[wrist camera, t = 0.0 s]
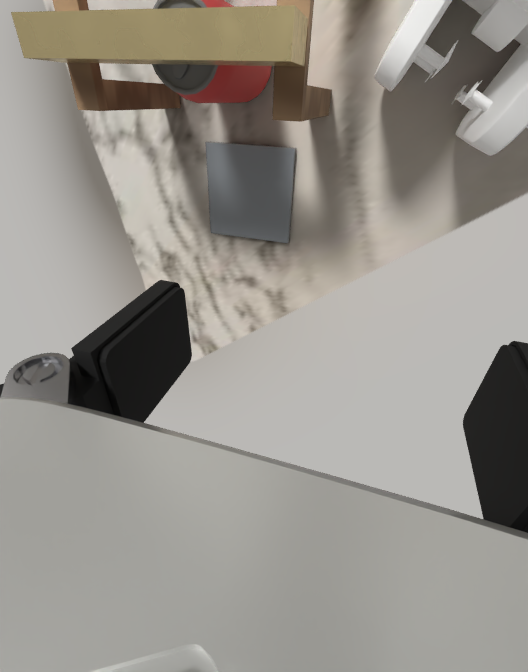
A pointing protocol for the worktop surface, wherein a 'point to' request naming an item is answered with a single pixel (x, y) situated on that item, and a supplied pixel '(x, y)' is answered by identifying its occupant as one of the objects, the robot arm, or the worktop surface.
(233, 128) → the worktop surface
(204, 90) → the beer can
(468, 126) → the cable organizer
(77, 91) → the frame
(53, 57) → the bar
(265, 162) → the coaster
